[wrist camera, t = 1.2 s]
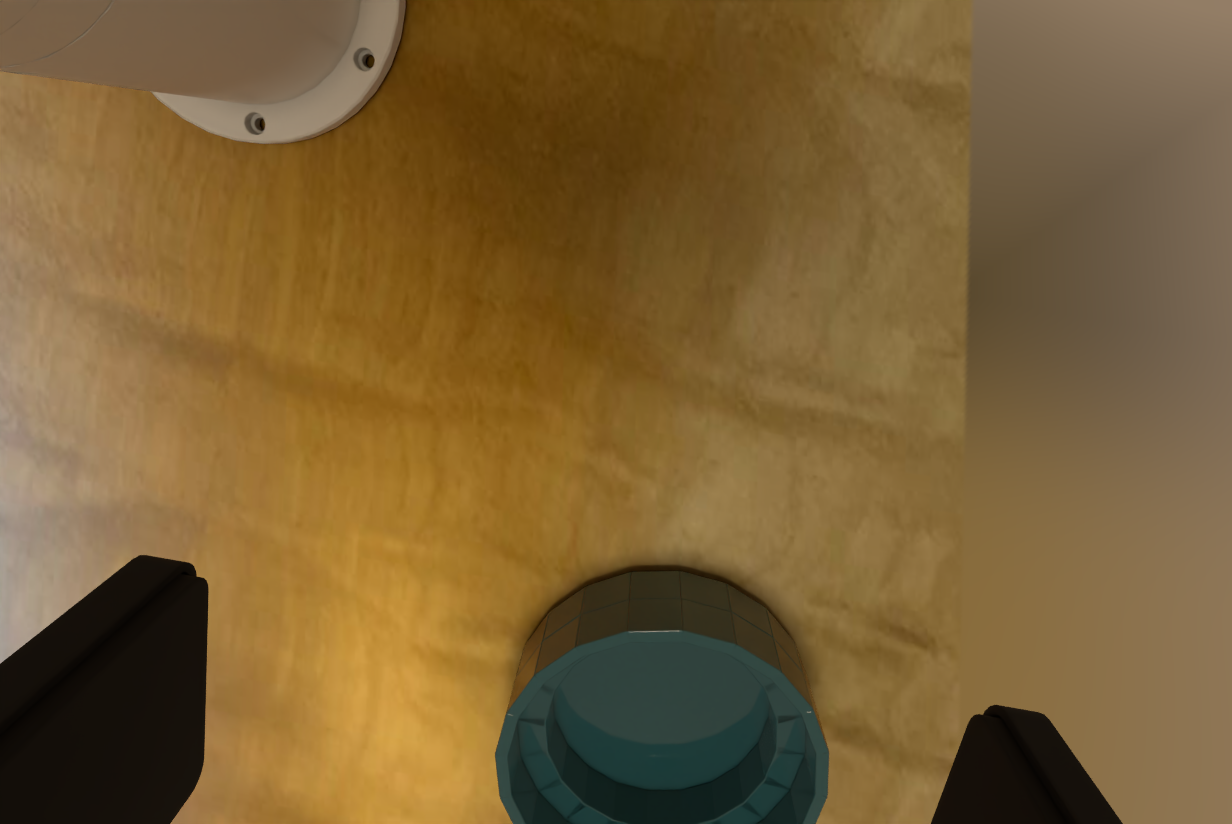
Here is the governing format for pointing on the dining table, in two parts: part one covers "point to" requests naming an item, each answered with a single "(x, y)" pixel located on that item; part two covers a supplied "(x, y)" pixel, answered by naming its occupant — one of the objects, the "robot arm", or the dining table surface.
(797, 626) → the dining table surface
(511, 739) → the bowl
